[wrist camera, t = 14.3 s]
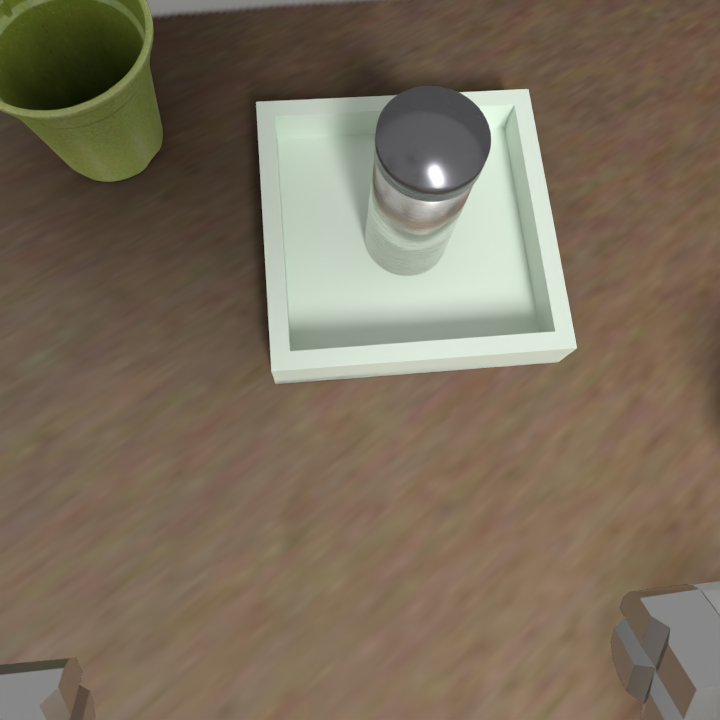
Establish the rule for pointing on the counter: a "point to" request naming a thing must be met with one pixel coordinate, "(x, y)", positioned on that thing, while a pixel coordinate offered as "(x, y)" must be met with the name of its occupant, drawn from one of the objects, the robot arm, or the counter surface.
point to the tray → (395, 292)
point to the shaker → (422, 176)
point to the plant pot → (83, 81)
